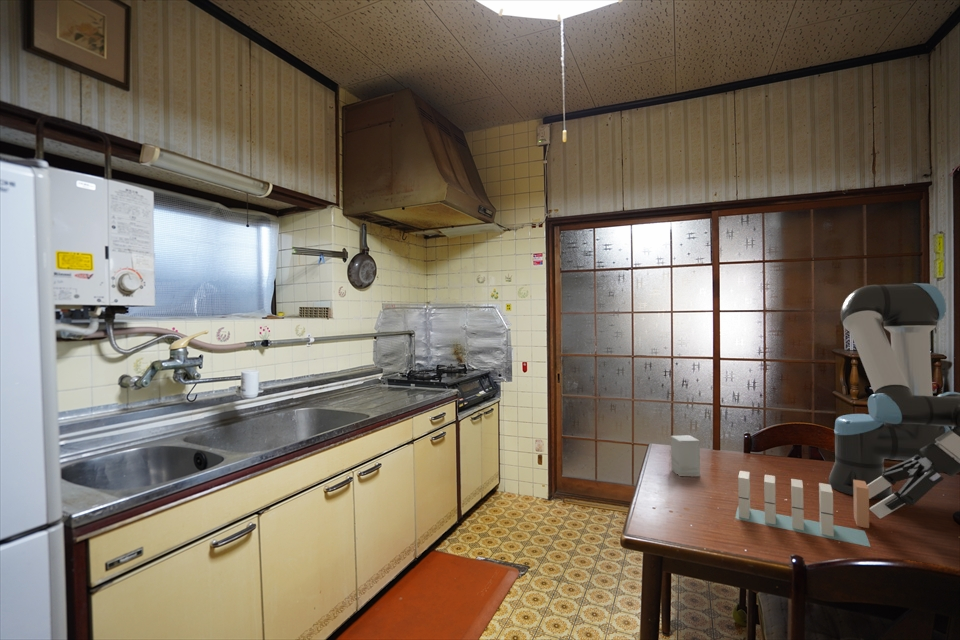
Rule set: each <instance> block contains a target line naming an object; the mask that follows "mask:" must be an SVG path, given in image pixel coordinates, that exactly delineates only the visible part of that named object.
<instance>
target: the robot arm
mask: <svg viewBox="0 0 960 640" xmlns="http://www.w3.org/2000/svg"><path fill="white" fill-rule="evenodd" d="M843 301H844V302H843V303H842V306H841V309H840V320H841V324H842V325H843V328H844V329H845V330H846V331H848V332H850V335H851V337H852V340H853V342H854V346H855V348H856V351H857V354H858V356H859V358H860V361H861V363H862V367H863V368H864V371H865V373H866V374H865V375H866V376H867V379H868V381H869V383H870V386H871V389H872V391H873V394H871V395H870V396H869V397H868V398H867V399H868V400H867V407H868V410H867V411H868V414H866V413H850V414H845V415H840V416H838V417H837V418H836V419H835V422H834V429H833V431H834V432H833V433H834V454H835V455H834V456H835V457H834V458H835V459H834V461H835V462H834V463H833V466H832V469H831V471H830V473H829V476H828V484H829V485H831V488H832V489H833V490H836V491H838V492H841V493H843V494H847V495H850V496H853V480H860V481H865V483H866V485H867V487H868V489H869V500H870V499H875V500H877V499H878V500H880V501H878V502H877V503H875V504H874V505H872V506H871V507H870V506H869V511H871V512H872V513H873V514H874V515H875V516H876V517H877V518H879V519H882V518H884V517H886V516H888V515H889V514H891V513H893V512H894V511H896V510H898V509H899V508H901V507H903V506H904V505H909V506H914V505H915V504H916V503H917V502H918V501H920V500H921V499H922V498H923V497H924V496H925V495H926V494H928V493H929V491H931V489H933V488H934V487H935V486H936V485H938V484H940V483H941V482H942V481H943V480H944V477H943V476H942V475H941V474H940V473H944V474H946V475H947V476H949V477H953V476H955V475H956V474H958V473H960V392H956V391H946V392H943V393H940V394H938V395H937V396H936V395H933V394H934V393H933V377H932V376H933V375H932V357H931V355H932V354H931V340H930V339H931V337H930V333H931V331H933V330H934V329H935V328H937V323H938V322H939V321H941V320H943V319H944V317H945V316H946V313H947V302H946V299H945V296H944V294H943V293H942V291H941V290H940V289H939V288H938V287H937V286H936V285H934V284H931V283H921V282H920V283H916V282H912V283H893V284H891V283H889V284H870V285H869V284H868V285H865V286H861V287H860V288H857V289H855V290H853V292H851V293H850V294H849V295H847V296H846V298H845V300H843ZM882 323H883V326H882ZM884 329H885V330H886V331H887V332H889V333H890V341H889V339H888V336H887V335H886V332H885V330H884ZM950 427H953V428H952V429H951V428H950ZM885 460H895V461H902V462H900V463H897V464H894V465H892V466H891V467H890V466H889V467H888V468H885V467H884V466H885V465H884V461H885ZM884 468H885V469H884ZM904 480H907V481H906V482H905V483H904V484H903V485H902V487H901V488H900V489H899V491H897V490H896V491H893V492H892V490H893V489H892V486H895V485H896V484H897V482H900V481H904ZM881 499H882V500H881Z"/></svg>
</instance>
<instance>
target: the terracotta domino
mask: <svg viewBox="0 0 960 640" xmlns="http://www.w3.org/2000/svg"><path fill="white" fill-rule="evenodd" d="M852 497H853V518H854V522H855V524H856V526H857V527H861V528H865V529H866V528H867V529H870V509H869V508H870V499H869V489H868V487H867V485H866V483H865V481H860V480H853V495H852Z"/></svg>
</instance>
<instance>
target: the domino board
mask: <svg viewBox="0 0 960 640" xmlns="http://www.w3.org/2000/svg"><path fill="white" fill-rule="evenodd" d="M736 508H737V509H736V512H735V517H734V519H735V520H740V521H745V522H749V523H755V524H759V525H764V526H769V527H772V528H779V529H783V530H788V531H791V532H797V533H802V534H807V535H811V536H815V537H821V538H826V539H830V540H836V541H840V542H844V543H850V544H855V545H858V546H864V547H867V548H868V547H870V548H871V547H872V546H871V545H870V541H869V539H868V536H867V534H866V530H861V529H857V528H851V527H847V526H841V525H836V524H833V532H834V537H833V536H828V535H823V534H821V529H820V521H815V520H810V519H805V518H804V530H799V529H794V528H792V516H789V515H785V514H779V513H776V525H775V524H770V523H765V510H759V509H753V508H750V516H749V519H746V518H741V517H739V505H738V506H737V507H736Z"/></svg>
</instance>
